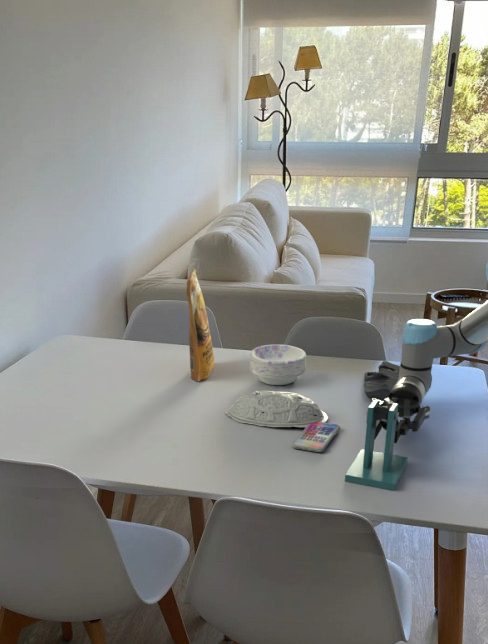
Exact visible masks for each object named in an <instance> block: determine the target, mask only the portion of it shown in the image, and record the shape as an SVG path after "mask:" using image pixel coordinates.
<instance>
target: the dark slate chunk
mask: <svg viewBox="0 0 488 644" xmlns="http://www.w3.org/2000/svg"><path fill="white" fill-rule="evenodd" d="M399 371H400V365H398V364H395V363H392V362H389V361H387V360H383V361H382V362H381V364H380V365H378V371H366V372H365V373H364V378H363V387H364V391H363V392H364V395H365V397H367V398H369V399H371V400H372V398H376V399H377V400H380V401H383V400H384V399H386V398H387V397H388V395H389V394H390V392H391V390H392V389H393V387H394V386H395V384H396V383H397V381H398V379H399Z"/></svg>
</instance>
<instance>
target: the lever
mask: <svg viewBox="0 0 488 644" xmlns="http://www.w3.org/2000/svg"><path fill="white" fill-rule="evenodd" d="M388 413H389V408H388V407H381V406H377V410H376V415H375V418H376V419H377V420H380V421H381V425H382V429H383V430H384V431H386V432H387V422H388ZM399 421H400V420H399V418H398V419H397V421H396V426H397V425H398V423H399Z"/></svg>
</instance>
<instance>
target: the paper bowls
mask: <svg viewBox="0 0 488 644" xmlns="http://www.w3.org/2000/svg"><path fill="white" fill-rule="evenodd" d="M306 365H307V353H306V352H305V350H303V349H302V348H300V347H297V346H292V345H289V344H267V345H266V344H265V345H260V346H257V347H255V348H253V349H252V350H251V351H250V353H249V370H250V372H251V373H252V374H253V375H254V376H257V378H258V380H259V381H260V382H262V383H264V384H267V385H270V386H285V385H286V386H287V385H290V384H292V383H294V382H295V381H297V378H298V377H299V376H302V375H303V374H304V373H305V372H306Z"/></svg>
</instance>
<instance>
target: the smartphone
mask: <svg viewBox="0 0 488 644" xmlns="http://www.w3.org/2000/svg"><path fill="white" fill-rule="evenodd" d="M340 429H341V425H340V424H338V423H333V422H332V423H331V422H319V421H318V422H315V423H312V424H309V425H308V426H307V427H304V429H303V430H302V431H301V433H300V434H299V435H298V436H297V437H296V438H295V440H294V441H293V442H292V444H291V447H292V448H293V449H296V450H302V451H303V450H304V451H307V452H308V451H309V452H314V453H322V452H324V451H325V450H326V448H327V447H328V445H329V444H330V442H331V441H332V440H333V439H334V437H335V436H336V435H337V433H338V432H339V431H340Z"/></svg>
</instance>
